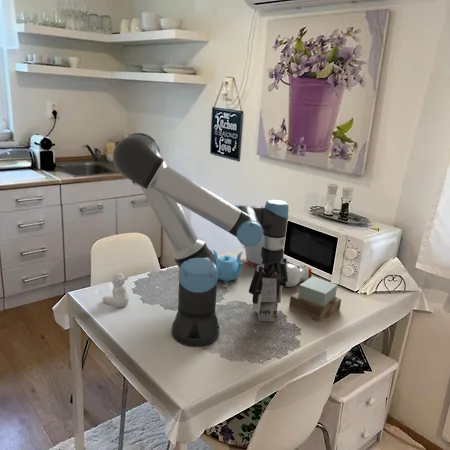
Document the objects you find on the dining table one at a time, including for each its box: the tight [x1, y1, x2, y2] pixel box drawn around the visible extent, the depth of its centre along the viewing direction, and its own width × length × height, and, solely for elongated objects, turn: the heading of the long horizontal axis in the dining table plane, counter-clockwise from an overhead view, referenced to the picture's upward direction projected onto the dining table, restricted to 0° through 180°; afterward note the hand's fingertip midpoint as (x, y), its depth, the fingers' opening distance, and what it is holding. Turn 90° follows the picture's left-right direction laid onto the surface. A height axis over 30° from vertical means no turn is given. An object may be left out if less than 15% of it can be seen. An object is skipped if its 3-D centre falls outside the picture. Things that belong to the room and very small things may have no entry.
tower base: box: [288, 291, 342, 323], centre depth 155 cm, size 13×13×5 cm
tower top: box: [298, 276, 338, 307], centre depth 154 cm, size 10×10×5 cm
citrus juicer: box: [244, 240, 263, 268], centre depth 191 cm, size 16×17×20 cm
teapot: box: [212, 249, 244, 284], centre depth 174 cm, size 13×13×10 cm
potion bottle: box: [285, 262, 313, 288], centre depth 174 cm, size 9×10×15 cm
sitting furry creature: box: [102, 272, 130, 309], centre depth 149 cm, size 10×9×12 cm
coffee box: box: [256, 272, 281, 323], centre depth 147 cm, size 9×6×16 cm
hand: (266, 306), depth 149 cm, fingers closed on coffee box, 10 cm apart
